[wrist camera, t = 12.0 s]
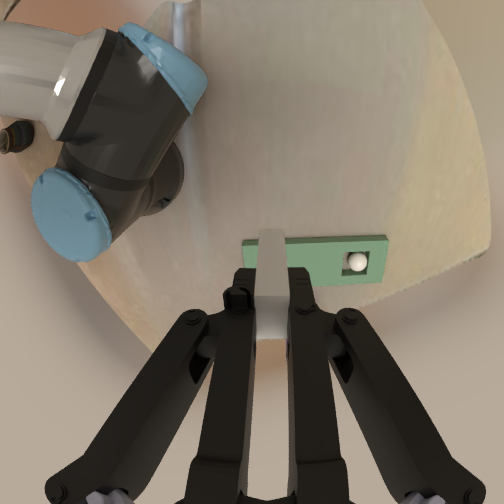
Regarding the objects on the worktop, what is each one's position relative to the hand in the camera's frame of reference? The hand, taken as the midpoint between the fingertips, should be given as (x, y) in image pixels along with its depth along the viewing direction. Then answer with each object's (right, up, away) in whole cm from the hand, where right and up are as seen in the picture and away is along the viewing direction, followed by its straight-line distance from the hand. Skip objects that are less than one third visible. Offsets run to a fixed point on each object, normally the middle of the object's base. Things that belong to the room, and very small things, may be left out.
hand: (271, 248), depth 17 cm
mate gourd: (-51, +26, +22) cm, 61 cm away
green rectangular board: (+10, -2, +31) cm, 33 cm away
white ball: (+18, -2, +29) cm, 34 cm away
